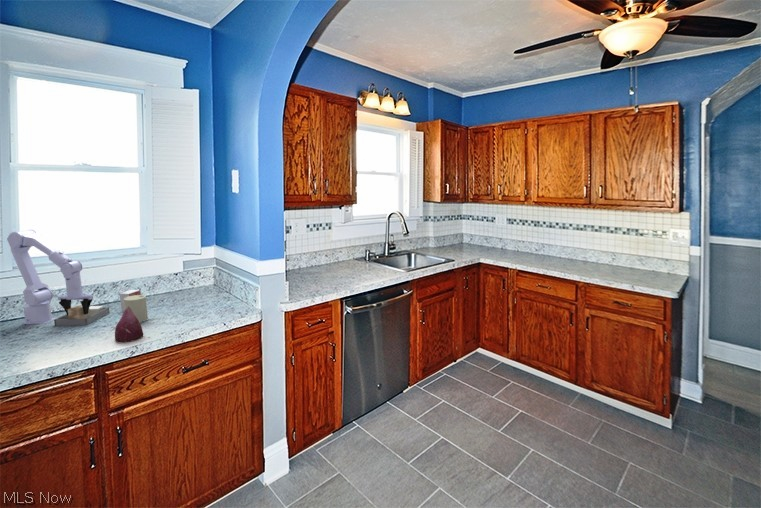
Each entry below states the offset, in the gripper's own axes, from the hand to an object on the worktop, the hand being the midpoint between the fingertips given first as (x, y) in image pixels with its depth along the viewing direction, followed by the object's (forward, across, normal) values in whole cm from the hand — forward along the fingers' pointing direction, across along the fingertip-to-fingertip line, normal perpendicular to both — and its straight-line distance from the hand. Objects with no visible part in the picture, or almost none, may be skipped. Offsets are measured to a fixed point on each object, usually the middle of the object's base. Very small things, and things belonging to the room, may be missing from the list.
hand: (77, 314), depth 189 cm
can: (+4, +26, +2) cm, 26 cm away
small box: (+4, +16, +16) cm, 23 cm away
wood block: (+4, 0, 0) cm, 4 cm away
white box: (+4, 0, +9) cm, 10 cm away
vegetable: (+4, +34, -22) cm, 40 cm away
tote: (+4, 0, +4) cm, 5 cm away
